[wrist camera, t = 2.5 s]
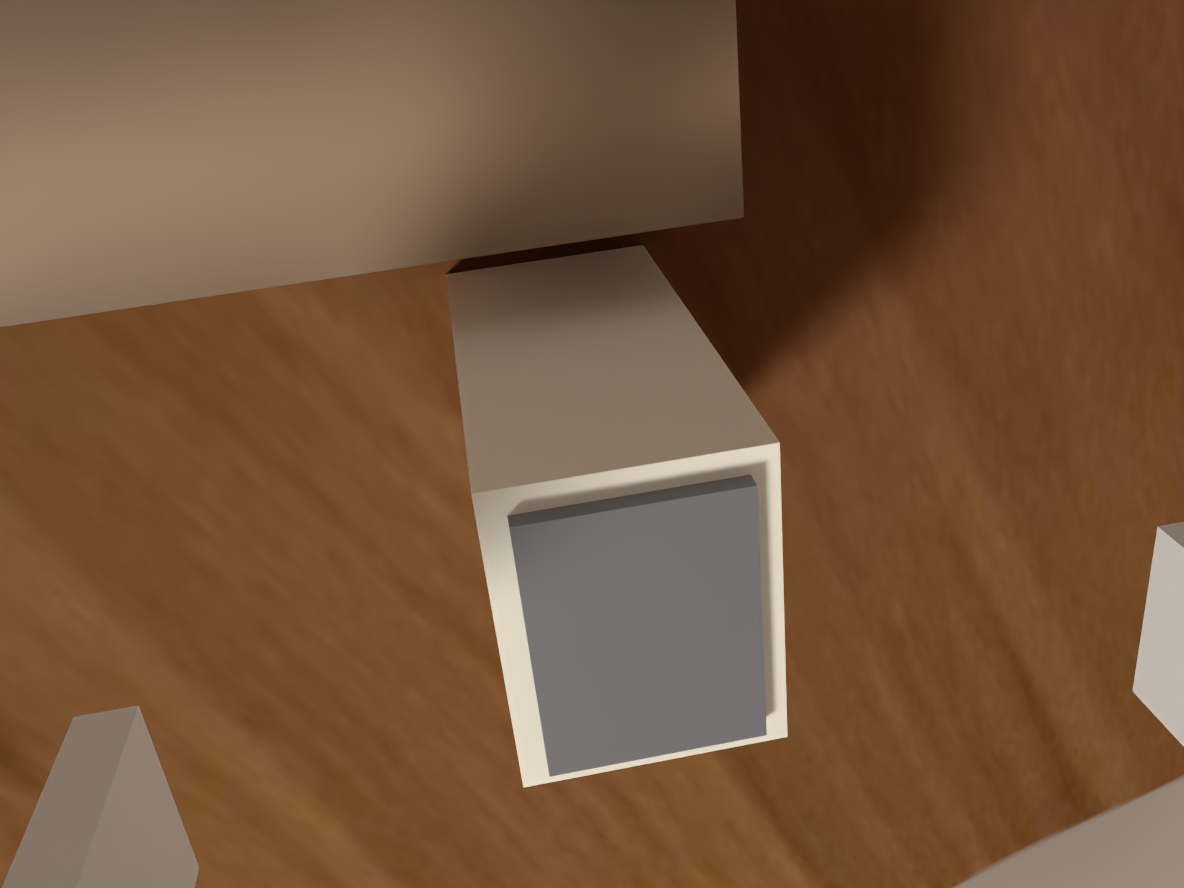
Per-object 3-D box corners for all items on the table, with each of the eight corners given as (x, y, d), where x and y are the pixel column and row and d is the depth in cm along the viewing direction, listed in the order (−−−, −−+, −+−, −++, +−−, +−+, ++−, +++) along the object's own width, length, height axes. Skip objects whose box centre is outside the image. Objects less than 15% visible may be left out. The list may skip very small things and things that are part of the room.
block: (445, 274, 22) (472, 505, 13) (643, 245, 22) (786, 452, 14) (483, 491, 24) (525, 802, 16) (661, 461, 24) (794, 750, 16)
